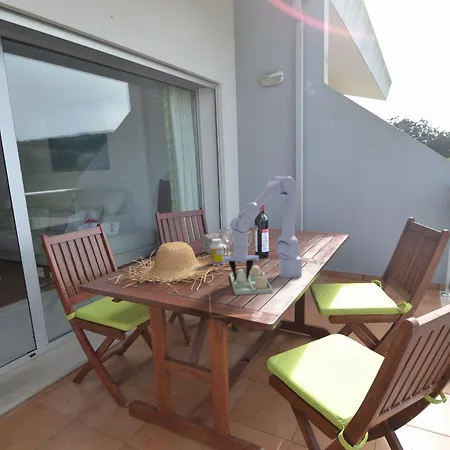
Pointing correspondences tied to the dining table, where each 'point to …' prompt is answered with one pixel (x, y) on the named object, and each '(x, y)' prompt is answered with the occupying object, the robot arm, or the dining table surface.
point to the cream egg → (241, 276)
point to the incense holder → (209, 241)
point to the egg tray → (249, 286)
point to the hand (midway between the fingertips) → (241, 278)
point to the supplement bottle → (216, 252)
